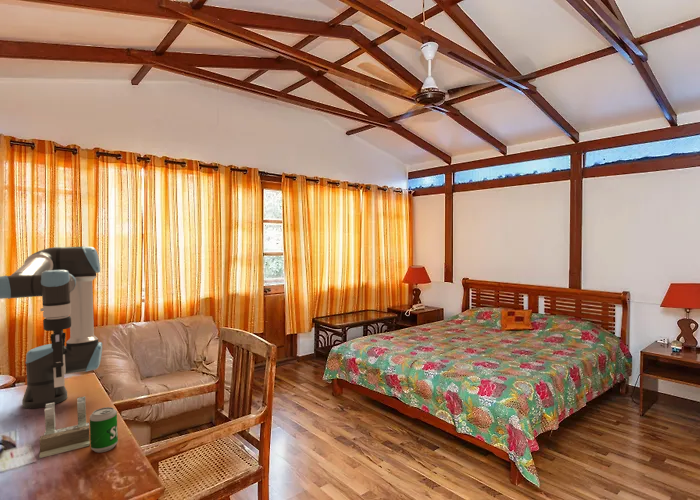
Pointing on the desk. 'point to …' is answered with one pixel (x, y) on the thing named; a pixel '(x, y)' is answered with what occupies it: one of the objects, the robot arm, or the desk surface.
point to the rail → (64, 438)
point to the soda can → (103, 429)
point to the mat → (64, 449)
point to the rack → (50, 417)
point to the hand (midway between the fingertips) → (60, 380)
